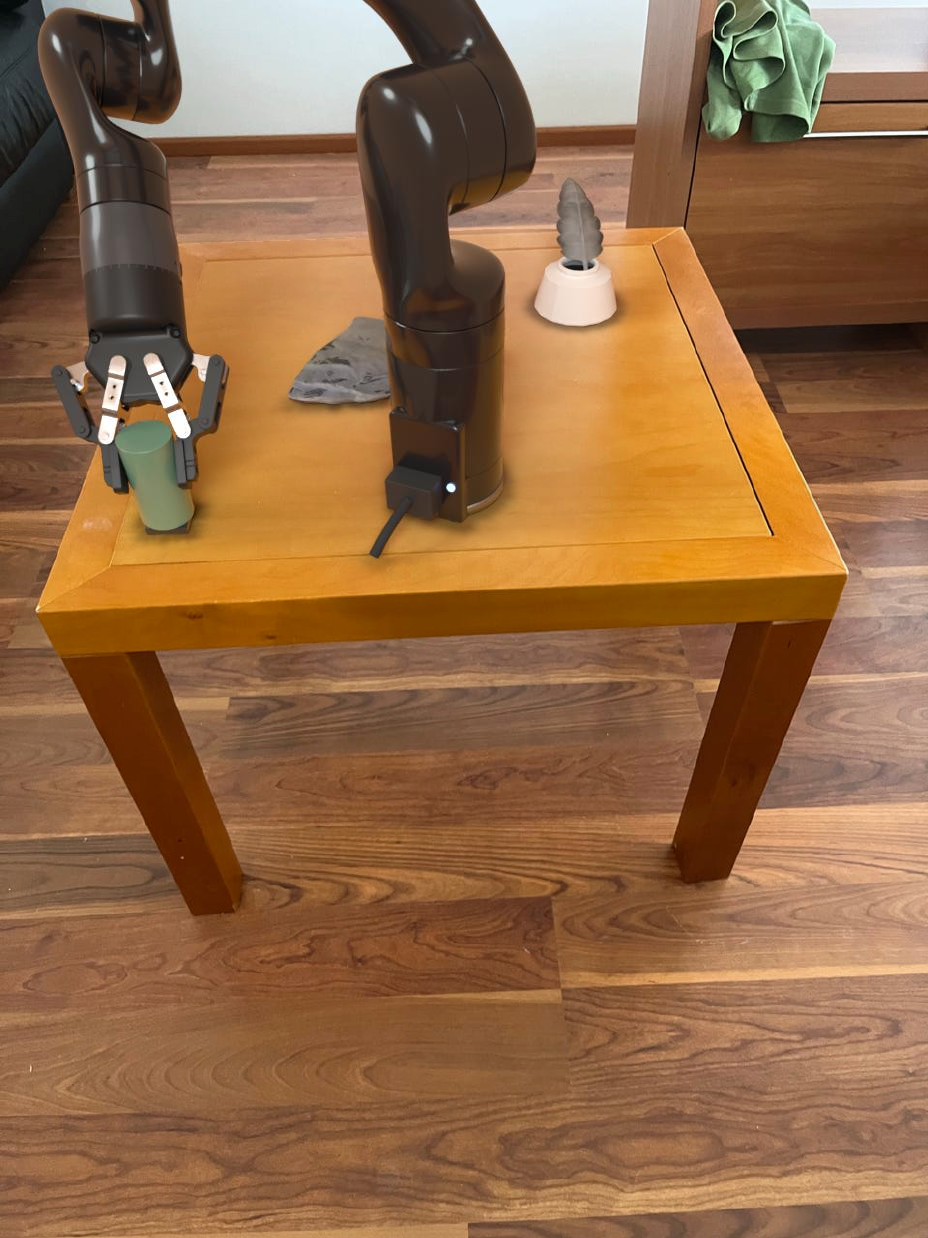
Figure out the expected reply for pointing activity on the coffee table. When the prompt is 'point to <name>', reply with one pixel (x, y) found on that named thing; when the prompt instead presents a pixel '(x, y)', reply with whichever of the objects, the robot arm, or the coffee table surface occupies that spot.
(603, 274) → the inkwell
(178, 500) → the sage green cylinder
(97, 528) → the coffee table surface
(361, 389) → the fossil rock
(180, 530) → the coaster
